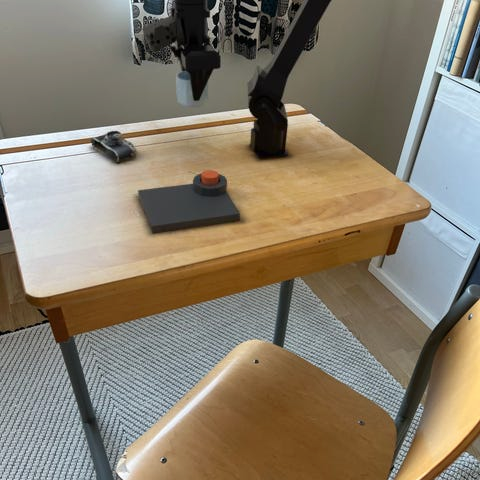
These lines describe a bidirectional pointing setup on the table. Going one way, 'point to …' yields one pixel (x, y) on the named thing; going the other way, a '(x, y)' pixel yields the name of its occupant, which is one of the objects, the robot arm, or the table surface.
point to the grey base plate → (188, 205)
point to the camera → (114, 146)
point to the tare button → (210, 177)
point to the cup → (188, 91)
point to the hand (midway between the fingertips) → (192, 94)
